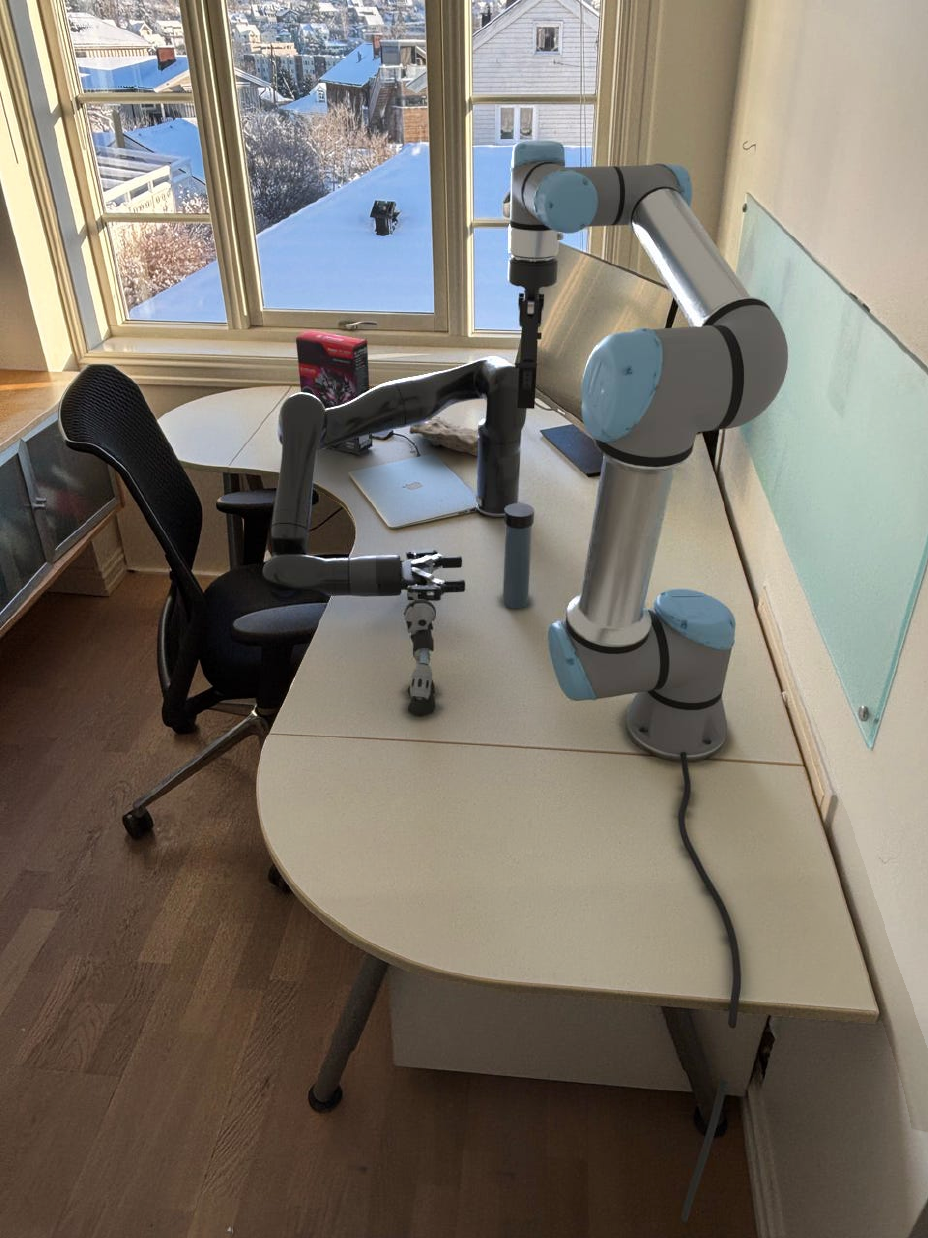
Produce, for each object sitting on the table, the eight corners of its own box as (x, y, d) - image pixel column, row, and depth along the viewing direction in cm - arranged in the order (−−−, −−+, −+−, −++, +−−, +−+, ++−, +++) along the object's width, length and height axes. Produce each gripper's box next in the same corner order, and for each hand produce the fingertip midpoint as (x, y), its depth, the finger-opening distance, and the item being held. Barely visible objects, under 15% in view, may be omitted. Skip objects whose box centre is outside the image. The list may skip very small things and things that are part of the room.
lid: (538, 518, 165) (538, 506, 164) (526, 530, 161) (527, 519, 160) (511, 512, 167) (512, 500, 166) (499, 524, 163) (499, 512, 162)
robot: (438, 740, 141) (437, 632, 129) (406, 740, 140) (402, 633, 129) (435, 663, 157) (434, 561, 146) (406, 664, 157) (403, 562, 145)
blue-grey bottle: (531, 598, 174) (537, 509, 164) (521, 611, 171) (526, 520, 160) (508, 592, 176) (512, 503, 166) (498, 604, 173) (501, 514, 162)
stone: (393, 439, 229) (398, 415, 226) (412, 430, 242) (417, 408, 240) (473, 463, 225) (479, 439, 223) (488, 453, 238) (493, 431, 236)
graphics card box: (303, 443, 234) (292, 335, 219) (319, 434, 239) (310, 328, 224) (359, 456, 228) (353, 346, 212) (374, 446, 233) (369, 338, 217)
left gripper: (376, 573, 176) (461, 571, 177) (375, 614, 165) (465, 611, 166) (374, 538, 172) (461, 536, 173) (373, 578, 160) (466, 576, 161)
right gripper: (558, 276, 129) (549, 422, 141) (557, 239, 149) (549, 368, 161) (505, 275, 129) (500, 420, 141) (511, 237, 150) (507, 367, 162)
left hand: (463, 573), depth 169 cm, fingers open, 8 cm apart
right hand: (526, 393), depth 151 cm, fingers open, 12 cm apart
